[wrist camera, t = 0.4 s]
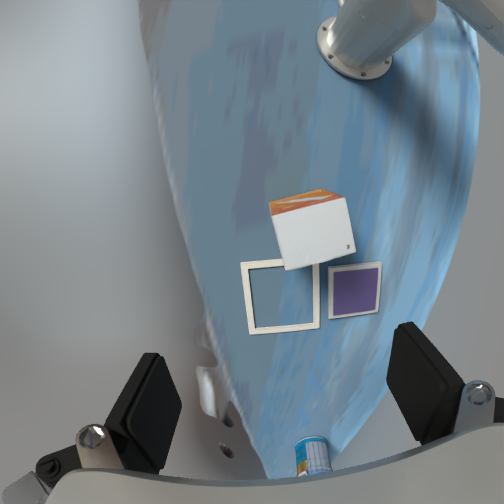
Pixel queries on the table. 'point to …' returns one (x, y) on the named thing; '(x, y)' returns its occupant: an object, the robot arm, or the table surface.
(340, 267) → the ink pad
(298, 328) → the outlined square
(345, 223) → the small box
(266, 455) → the table surface
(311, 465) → the beverage bottle
